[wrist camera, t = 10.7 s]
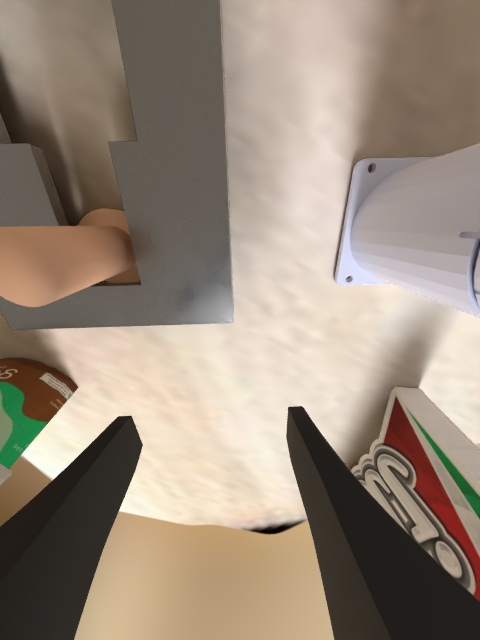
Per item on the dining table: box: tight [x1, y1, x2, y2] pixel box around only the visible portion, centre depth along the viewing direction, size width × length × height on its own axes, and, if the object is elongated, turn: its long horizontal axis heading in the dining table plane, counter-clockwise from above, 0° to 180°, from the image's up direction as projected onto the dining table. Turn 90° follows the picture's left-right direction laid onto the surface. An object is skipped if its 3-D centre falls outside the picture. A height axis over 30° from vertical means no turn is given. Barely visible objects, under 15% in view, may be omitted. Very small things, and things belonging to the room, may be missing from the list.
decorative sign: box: [351, 386, 480, 601], centre depth 21 cm, size 23×3×15 cm, turn 173°
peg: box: [0, 208, 140, 307], centre depth 11 cm, size 5×5×8 cm
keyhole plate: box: [0, 0, 233, 330], centre depth 12 cm, size 16×19×2 cm
